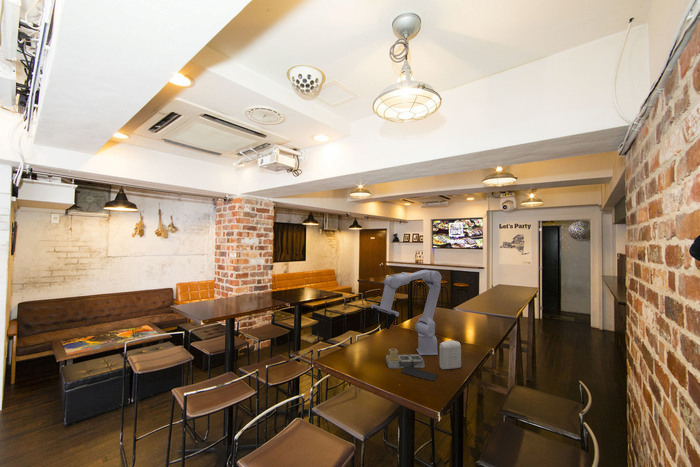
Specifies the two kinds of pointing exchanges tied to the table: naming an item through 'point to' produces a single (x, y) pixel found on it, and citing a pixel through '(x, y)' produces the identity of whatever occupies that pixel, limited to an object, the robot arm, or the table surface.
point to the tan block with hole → (393, 354)
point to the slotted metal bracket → (406, 361)
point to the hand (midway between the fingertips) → (380, 326)
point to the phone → (419, 373)
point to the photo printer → (450, 354)
